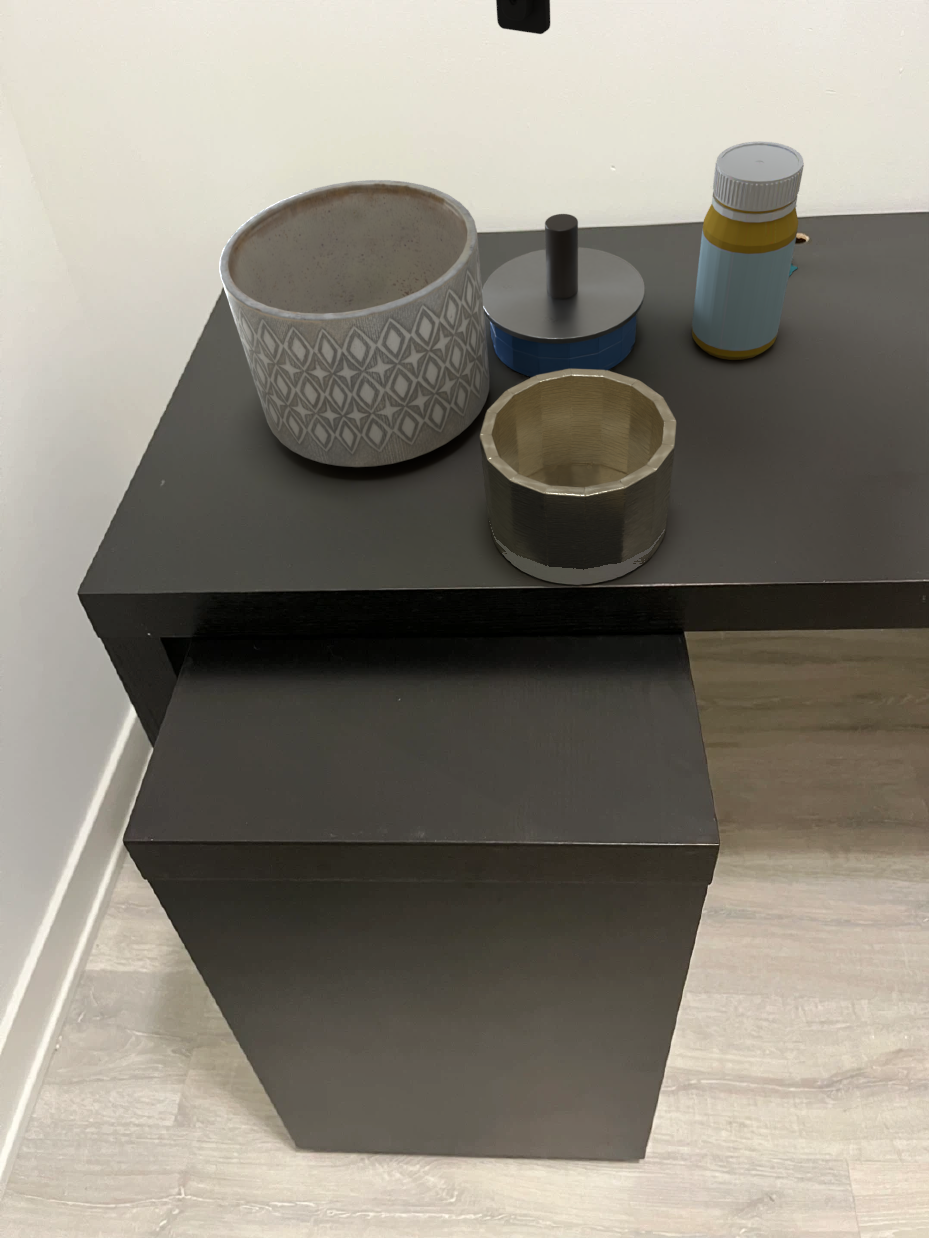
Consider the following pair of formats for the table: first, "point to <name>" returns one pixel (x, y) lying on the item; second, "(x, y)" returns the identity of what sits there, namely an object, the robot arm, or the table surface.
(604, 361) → the pan
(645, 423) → the pot
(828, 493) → the table surface
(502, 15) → the robot arm
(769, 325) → the bottle
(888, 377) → the table surface
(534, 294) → the lid
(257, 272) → the planter
